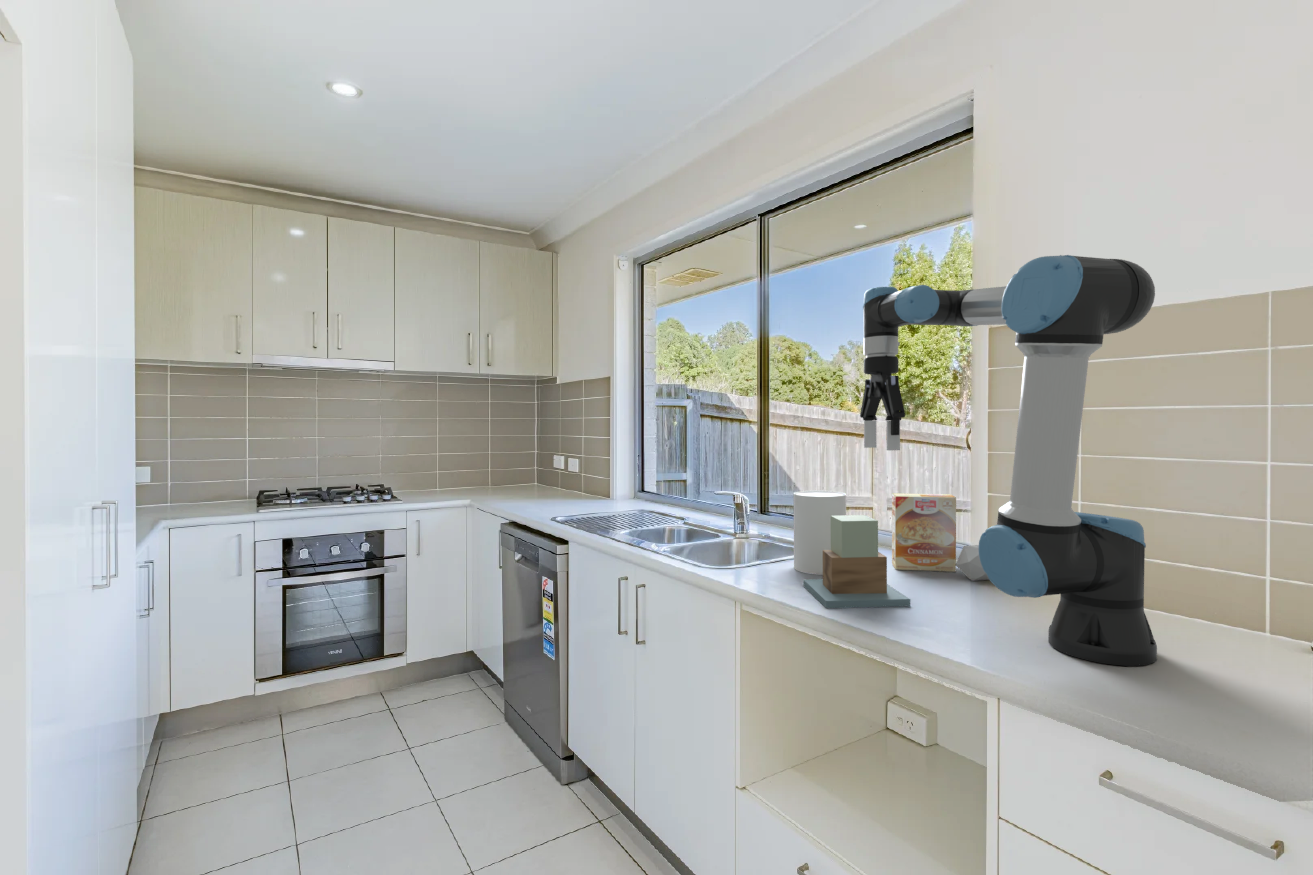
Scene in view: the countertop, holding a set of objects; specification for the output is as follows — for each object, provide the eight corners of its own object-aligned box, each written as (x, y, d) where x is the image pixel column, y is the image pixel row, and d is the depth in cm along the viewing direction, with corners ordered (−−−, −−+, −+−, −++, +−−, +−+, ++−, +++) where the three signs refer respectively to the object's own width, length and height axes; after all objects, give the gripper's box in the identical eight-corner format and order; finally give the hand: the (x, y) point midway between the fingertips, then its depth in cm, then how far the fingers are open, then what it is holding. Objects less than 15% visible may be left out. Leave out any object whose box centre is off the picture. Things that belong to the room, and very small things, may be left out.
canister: (836, 561, 176) (835, 490, 176) (854, 573, 163) (853, 496, 162) (788, 563, 175) (787, 491, 175) (802, 575, 162) (801, 497, 161)
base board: (910, 606, 134) (910, 599, 134) (826, 608, 134) (826, 600, 134) (877, 584, 152) (877, 577, 152) (803, 585, 152) (803, 579, 152)
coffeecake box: (895, 570, 166) (895, 495, 166) (891, 563, 173) (891, 492, 173) (956, 572, 163) (956, 496, 162) (950, 565, 170) (950, 493, 169)
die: (1000, 587, 150) (1010, 550, 154) (966, 569, 150) (977, 532, 154) (976, 591, 158) (986, 556, 162) (945, 574, 158) (956, 539, 162)
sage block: (878, 556, 139) (878, 520, 139) (841, 557, 139) (841, 521, 139) (865, 549, 147) (864, 515, 147) (830, 550, 147) (830, 515, 146)
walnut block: (886, 593, 139) (886, 556, 139) (832, 593, 139) (831, 557, 139) (874, 583, 147) (874, 549, 147) (822, 584, 147) (822, 550, 147)
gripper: (921, 350, 134) (921, 451, 134) (876, 361, 158) (876, 446, 159) (886, 350, 133) (886, 451, 134) (846, 361, 158) (847, 446, 159)
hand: (881, 449), depth 146 cm, fingers open, 13 cm apart
